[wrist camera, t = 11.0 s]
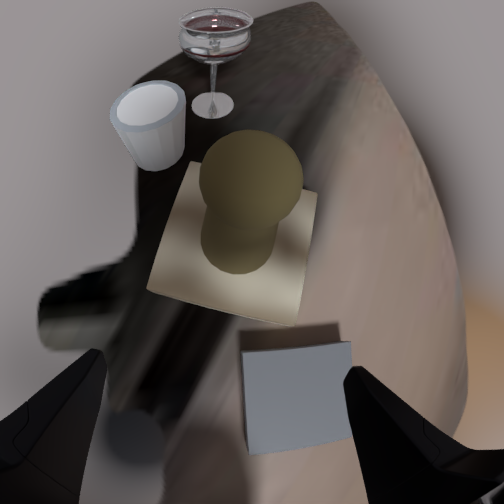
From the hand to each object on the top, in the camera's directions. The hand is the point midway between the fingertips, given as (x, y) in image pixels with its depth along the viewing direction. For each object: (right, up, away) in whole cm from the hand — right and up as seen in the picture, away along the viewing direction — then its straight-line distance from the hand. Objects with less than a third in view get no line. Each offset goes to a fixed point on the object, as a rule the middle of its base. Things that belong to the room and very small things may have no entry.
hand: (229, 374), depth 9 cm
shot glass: (-9, +15, +18) cm, 25 cm away
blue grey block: (+4, -8, +13) cm, 16 cm away
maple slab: (-1, +5, +16) cm, 16 cm away
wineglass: (-4, +21, +20) cm, 30 cm away
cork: (0, +5, +14) cm, 15 cm away
